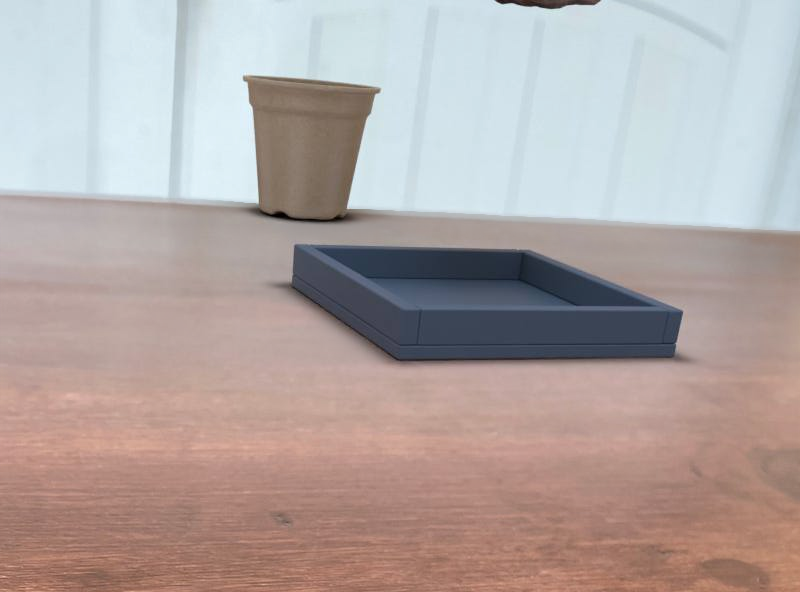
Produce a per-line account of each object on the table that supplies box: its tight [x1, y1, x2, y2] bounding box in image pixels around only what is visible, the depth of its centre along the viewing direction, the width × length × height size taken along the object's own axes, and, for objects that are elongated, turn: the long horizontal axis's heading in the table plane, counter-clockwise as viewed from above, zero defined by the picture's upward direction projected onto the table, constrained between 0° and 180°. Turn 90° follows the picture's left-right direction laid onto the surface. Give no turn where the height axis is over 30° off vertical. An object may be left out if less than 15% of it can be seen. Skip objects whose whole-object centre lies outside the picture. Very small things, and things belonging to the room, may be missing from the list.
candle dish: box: [291, 243, 684, 361], centre depth 57 cm, size 14×15×2 cm
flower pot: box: [242, 74, 382, 221], centre depth 83 cm, size 9×9×9 cm
